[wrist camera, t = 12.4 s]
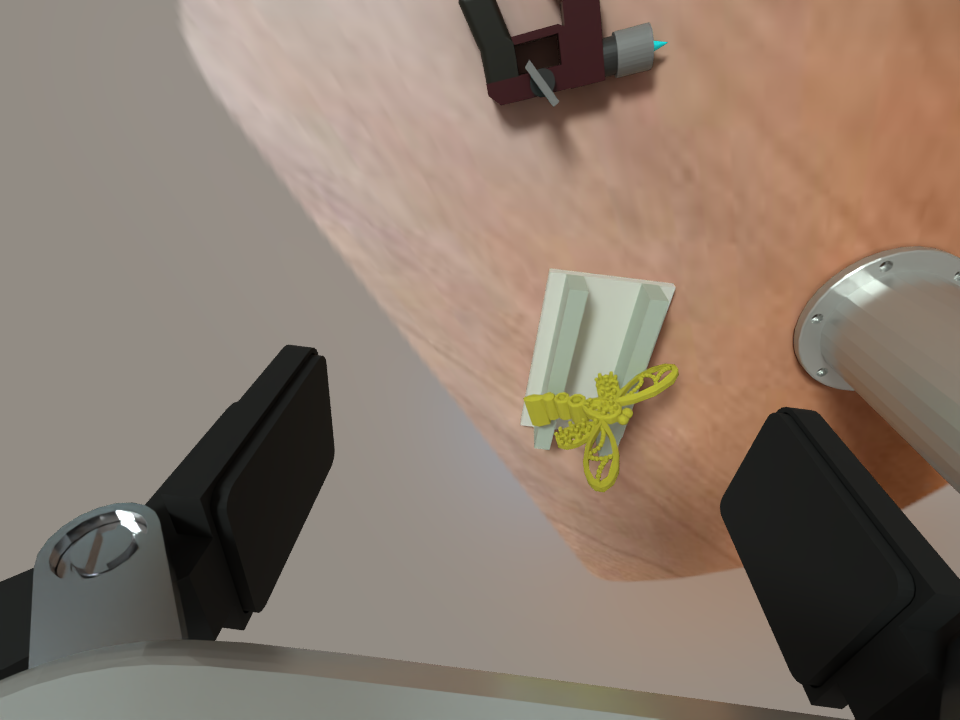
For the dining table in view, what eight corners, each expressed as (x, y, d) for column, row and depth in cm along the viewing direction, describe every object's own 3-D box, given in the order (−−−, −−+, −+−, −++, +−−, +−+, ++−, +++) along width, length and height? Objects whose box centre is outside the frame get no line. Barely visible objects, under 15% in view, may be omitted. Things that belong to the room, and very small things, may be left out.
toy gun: (663, 73, 30) (685, 74, 26) (484, 117, 32) (478, 125, 28) (660, -130, 25) (686, -168, 21) (448, -62, 28) (436, -84, 23)
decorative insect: (569, 339, 43) (681, 359, 36) (576, 366, 45) (683, 390, 38) (486, 438, 36) (604, 485, 30) (498, 465, 38) (611, 514, 32)
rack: (672, 283, 38) (686, 303, 34) (620, 432, 46) (628, 459, 43) (549, 268, 38) (552, 287, 34) (520, 419, 46) (520, 446, 43)
